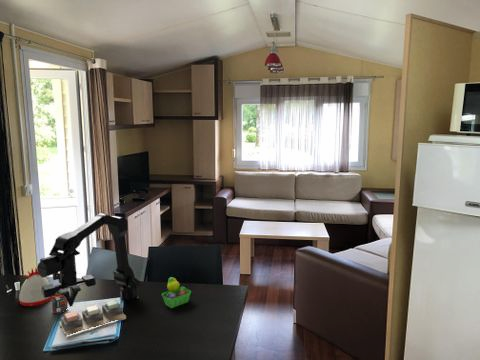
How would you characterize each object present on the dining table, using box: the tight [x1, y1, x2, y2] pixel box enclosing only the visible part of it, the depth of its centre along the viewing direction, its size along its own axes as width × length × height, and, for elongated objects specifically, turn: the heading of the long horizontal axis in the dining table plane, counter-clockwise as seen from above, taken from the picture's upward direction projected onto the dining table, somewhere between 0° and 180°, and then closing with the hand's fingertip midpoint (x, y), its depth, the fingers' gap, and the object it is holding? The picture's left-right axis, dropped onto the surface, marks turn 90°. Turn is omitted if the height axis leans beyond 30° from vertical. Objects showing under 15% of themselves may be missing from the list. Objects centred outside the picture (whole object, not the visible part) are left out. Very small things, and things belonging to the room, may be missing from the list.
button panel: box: [58, 302, 127, 337], centre depth 155 cm, size 23×12×4 cm, turn 127°
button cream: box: [85, 304, 100, 316], centre depth 154 cm, size 4×4×3 cm
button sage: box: [105, 299, 119, 310], centre depth 159 cm, size 4×4×3 cm
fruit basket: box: [161, 276, 192, 309], centre depth 170 cm, size 11×9×11 cm
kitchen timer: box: [18, 267, 52, 307], centre depth 174 cm, size 14×14×15 cm
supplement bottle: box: [51, 283, 69, 315], centre depth 163 cm, size 6×6×11 cm
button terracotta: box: [64, 310, 78, 323], centre depth 149 cm, size 4×4×3 cm
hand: (70, 306), depth 149 cm, fingers closed
